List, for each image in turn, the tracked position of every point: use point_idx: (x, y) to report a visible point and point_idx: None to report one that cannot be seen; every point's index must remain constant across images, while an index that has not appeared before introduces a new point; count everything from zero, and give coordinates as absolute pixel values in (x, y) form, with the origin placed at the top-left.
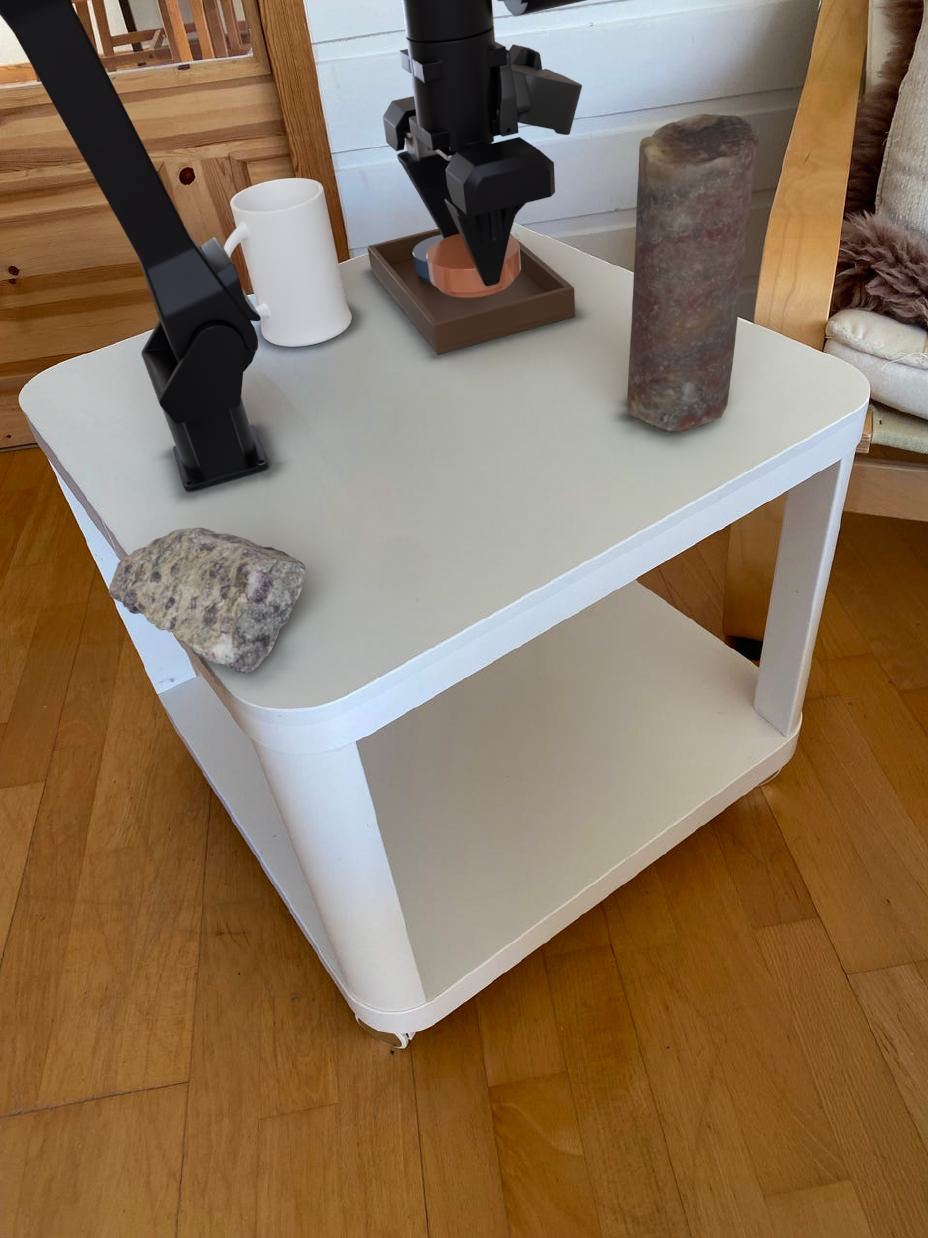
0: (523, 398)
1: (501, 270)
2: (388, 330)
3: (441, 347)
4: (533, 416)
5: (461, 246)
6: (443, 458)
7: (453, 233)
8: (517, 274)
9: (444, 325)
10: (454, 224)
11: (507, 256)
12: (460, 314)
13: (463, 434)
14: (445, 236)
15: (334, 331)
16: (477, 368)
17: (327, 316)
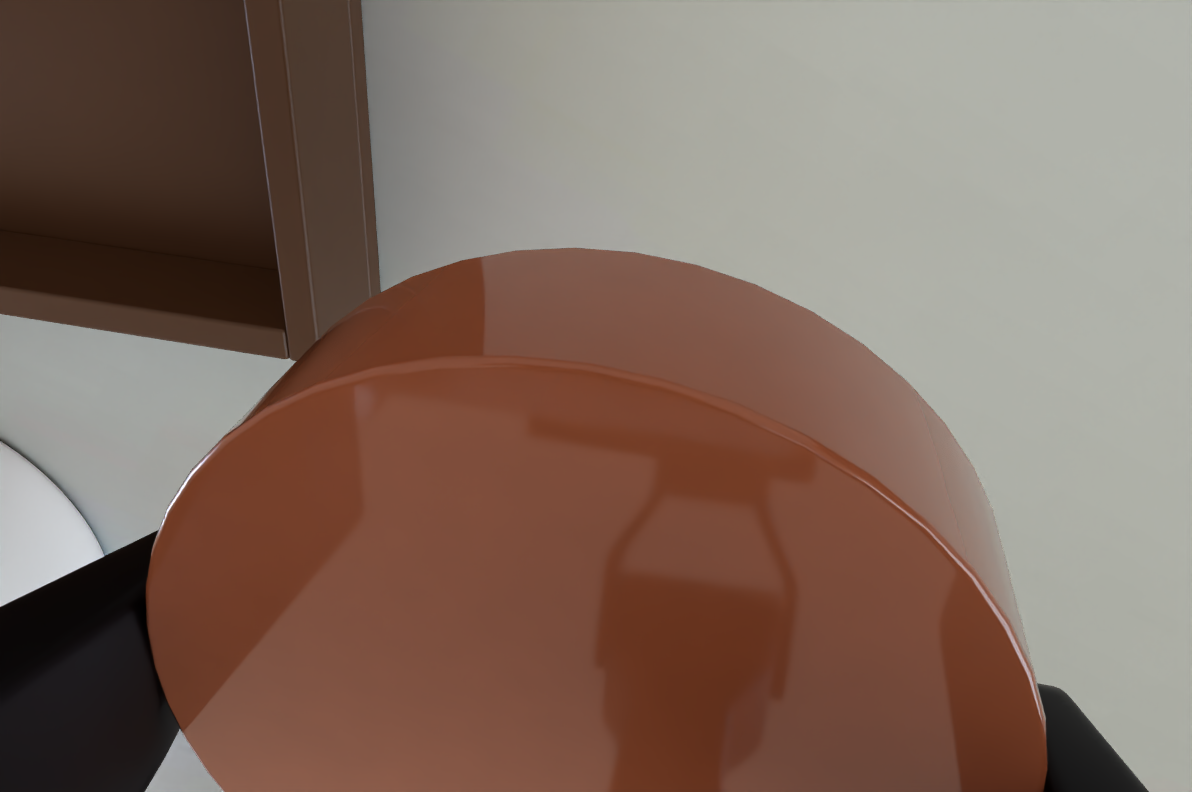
0: (987, 187)
1: (1146, 789)
2: (90, 351)
3: (369, 293)
4: (1168, 233)
5: (436, 765)
6: (1115, 627)
7: (151, 694)
8: (946, 426)
9: (322, 311)
10: (95, 744)
11: (991, 675)
12: (79, 59)
13: (1033, 511)
14: (172, 742)
15: (68, 525)
16: (588, 219)
17: (23, 576)
